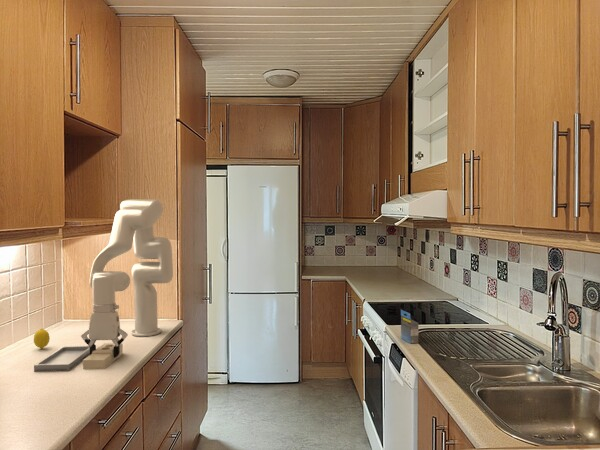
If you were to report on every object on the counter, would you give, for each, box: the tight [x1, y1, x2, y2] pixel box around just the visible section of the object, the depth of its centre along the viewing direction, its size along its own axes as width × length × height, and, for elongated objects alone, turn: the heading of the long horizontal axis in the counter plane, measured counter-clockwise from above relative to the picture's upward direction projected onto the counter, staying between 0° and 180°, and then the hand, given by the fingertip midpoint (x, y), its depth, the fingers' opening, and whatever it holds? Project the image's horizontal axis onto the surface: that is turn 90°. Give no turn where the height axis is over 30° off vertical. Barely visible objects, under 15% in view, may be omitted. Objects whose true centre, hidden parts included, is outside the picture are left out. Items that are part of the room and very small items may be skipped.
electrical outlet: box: [82, 342, 124, 370], centre depth 181 cm, size 7×4×18 cm
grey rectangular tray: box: [33, 345, 90, 372], centre depth 181 cm, size 23×12×2 cm, turn 3°
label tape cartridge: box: [400, 309, 419, 345], centre depth 205 cm, size 9×4×12 cm, turn 15°
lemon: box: [33, 328, 51, 350], centre depth 196 cm, size 6×6×8 cm
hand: (104, 356), depth 182 cm, fingers closed on electrical outlet, 7 cm apart
